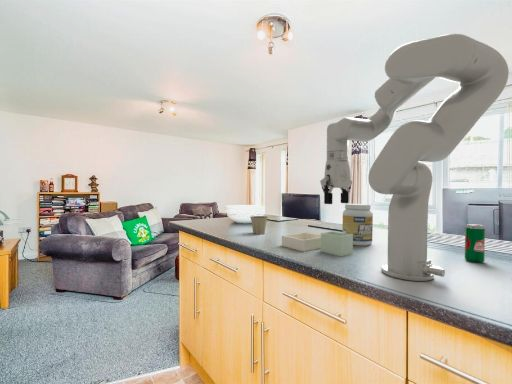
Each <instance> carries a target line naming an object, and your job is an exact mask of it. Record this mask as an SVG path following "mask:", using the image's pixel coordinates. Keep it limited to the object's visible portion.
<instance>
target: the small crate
mask: <svg viewBox="0 0 512 384" xmlns="http://www.w3.org/2000/svg"><path fill="white" fill-rule="evenodd" d="M320 235H321V248H320V252H322V253H326V254H331V255H335V256H339V257H343V256H347V255H352V254H354V251H353V249H354V247H353V246H354V245H353V235H352V234H346V233H342V232H338V231H333V230H332V231H325V232H321V233H320Z"/></svg>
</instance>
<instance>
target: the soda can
mask: <svg viewBox="0 0 512 384" xmlns="http://www.w3.org/2000/svg"><path fill="white" fill-rule="evenodd" d="M485 253H486V228H485V227H484V225H483V224H476V223H466V226H465V228H464V259H465V261H467V262H470V263H476V264H483V263H484V262H485V261H486V260H485V259H486V258H485V255H486V254H485Z"/></svg>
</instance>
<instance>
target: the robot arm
mask: <svg viewBox="0 0 512 384" xmlns="http://www.w3.org/2000/svg"><path fill="white" fill-rule="evenodd" d="M509 70H510V69H509V66H508V63H507V61H506V59H505V58H504V56H503V55H502V54H501V53H500V51H498V50H497V49H495V48H493V47H492V46H490V45H488V44H487V43H484V42H481V41H479V40H477V39H475V38H472V37H470V36H468V35H465V34H462V33H448V34H442V35H437V36H434V37H428V38H424V39H420V40H416V41H415V40H414V41H410V42H407V43H404V44H402V45H400V46H398V47H397V48H396V49H394V50H393V51H392V52H391V53H390V55H388V57H387V59H386V61H385V64H384V73H385V75H386V77H388V78H387V79H386V80H385V81H384V82H382V84H381V85H379V87H378V88H377V89H376V90H375V92H374V98H375V101H376V103H377V105H378V106H379V108H378V110H377V111H376V112H375V113H374V114H373V115H372V116H370V117H369V118H368V119H365V118H364V119H363V118H356V117H349V116H347V117H343V118H341V119H339V121H337V122H333V123H329V124H328V125H327V128H326V160H325V161H326V162H325V167H324V176H323V178H322V179H321V180H319V182H320V185H321V189H322V192H323V194H324V195H323V199H324V200H323V204H324V205H332V204H333V192H332V191H333V189H337V188H338V189H340V191H341V192H340V203H341V204H350V203H349V201H350V199H349V198H350V192H351V191H350V190H351V188H352V183H353V181H352V180H351V167H350V162H349V161H348V160H349V141H355V142H360V143H361V142H362V143H363V142H369V141H372V140H374V139H375V138H377V137H378V136H379V135H381V134H382V133H383V132H384V131H385V130H387V129H388V128H389V126H391V124H392V122H393V120H394V118H395V116H396V112H397V110H398V109H399V108H400V107H402V106H403V105H404V104H405V103H407V102H408V101H410V100H411V98H413V97H414V96H416V94H417V93H419V92H420V91H421V90H423V89H424V88H425V87H426V86H427V85H429V84H430V83H431V82H432V81H433V80H434V79H435V78H439V79H443V80H446V81H449V82H453V83H456V84H458V85H459V86H458V88H457V89H456V90H455V91H453V92H452V93H451V94H450V95H449V96H448V97H446V98H445V99H444V100H443V101H442V102H441V104H440V105H439V106H438V108H437V109H436V111H435V112H434V113H433V115H432V116H431V117H430V118H429V119H428V120H427V121H426V120H420V119H416V120H415V119H414V120H411V121H408V122H405V123H404V124H402V125H400V126H399V127H398V128H397V129H396V130H395V131H393V133H392V135H391V136H390V137H389V138H388V140H387V142H386V144H385V145H384V146H383V148H382V149H381V150H380V152H379V154H378V155H377V157H376V159H375V160H374V162H373V163H372V165H371V167H370V169H369V172H368V183H369V186H370V188H371V189H372V190H373V191H375V192H376V193H378V194H380V195H392V196H391V199H390V202H389V204H388V212H387V213H388V214H387V215H388V217H387V220H388V221H387V263H386V264H382V265H381V272H382V273H384V274H385V275H387V276H389V277H392V278H395V279H400V280H405V281H413V282H427V281H428V282H429V281H431V280H433V279H434V278H435V276H439V277H442V278H444V277H445V275H446V270H445V269H444V267H442V266H437V265H433V264H432V259H430V258H429V259H428V226H429V223H428V219H429V202H430V195H431V190H432V186H433V174H432V170H431V169H430V167H429V166H427V165H426V164H425V163H424V162H429V163H432V162H433V163H435V162H440V161H443V160H445V159H446V158H448V156H450V155H451V153H452V152H453V151H454V150H455V149H456V148H457V147H458V145H459V144H460V143H461V141H463V139H465V137H466V136H467V135H468V134H469V132H470V131H471V130H472V129H473V127H474V126H475V125H476V123H478V121H479V120H480V119H481V117H483V116H484V114H485V113H486V112H487V111H488V110H489V108H491V107H492V105H493V104H494V103H495V102H496V101H497V100H498V98H499V97H500V96H501V94H502V92H503V91H504V90H505V88H506V85H507V83H508V79H509V73H510V71H509Z"/></svg>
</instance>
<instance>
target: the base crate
mask: <svg viewBox="0 0 512 384" xmlns="http://www.w3.org/2000/svg"><path fill="white" fill-rule="evenodd" d="M281 246H282V247H284V248H289V249H293V250H297V251H300V252H309V251H314V250H318V249H321V234H316V233H310V232H299V233H298V232H297V233H292V234H283V235H281Z"/></svg>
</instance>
